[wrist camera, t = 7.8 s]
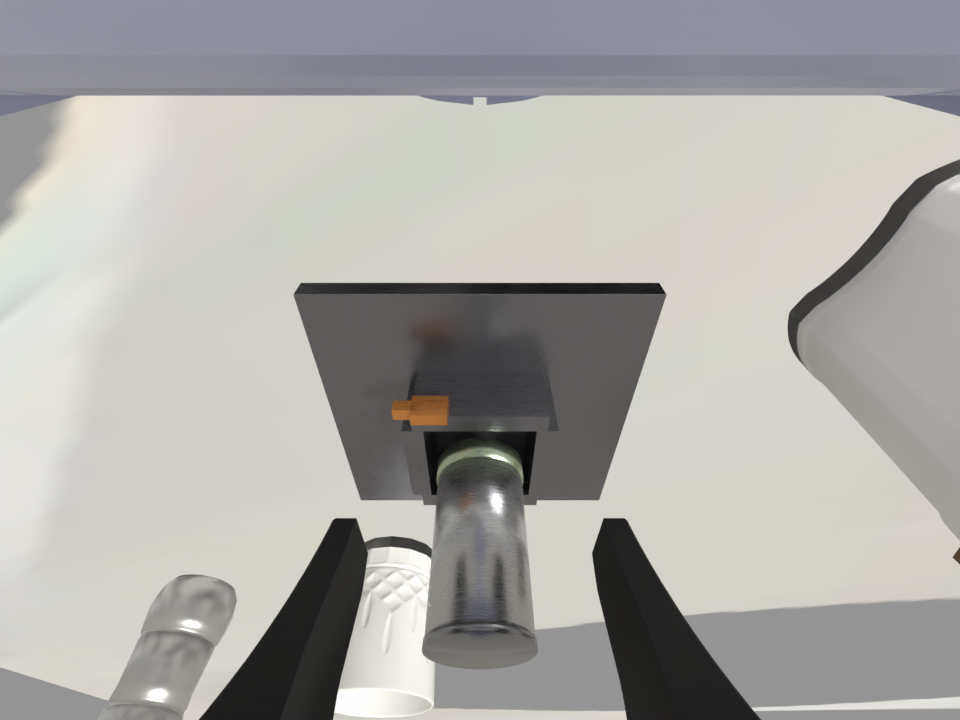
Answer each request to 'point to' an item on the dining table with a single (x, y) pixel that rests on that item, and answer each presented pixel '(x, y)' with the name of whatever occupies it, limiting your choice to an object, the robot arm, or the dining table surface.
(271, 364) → the dining table surface
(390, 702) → the white cup
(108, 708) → the plastic bottle
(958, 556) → the photo frame
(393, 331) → the stand base
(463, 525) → the silver metal canister
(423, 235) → the dining table surface
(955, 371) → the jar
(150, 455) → the dining table surface
